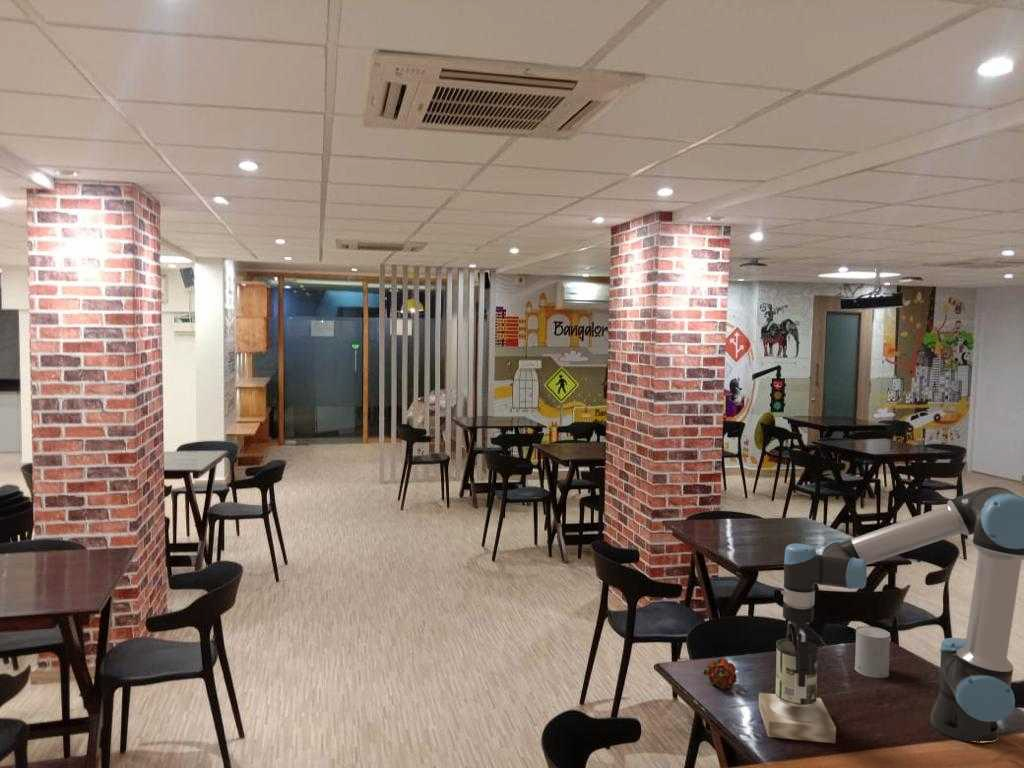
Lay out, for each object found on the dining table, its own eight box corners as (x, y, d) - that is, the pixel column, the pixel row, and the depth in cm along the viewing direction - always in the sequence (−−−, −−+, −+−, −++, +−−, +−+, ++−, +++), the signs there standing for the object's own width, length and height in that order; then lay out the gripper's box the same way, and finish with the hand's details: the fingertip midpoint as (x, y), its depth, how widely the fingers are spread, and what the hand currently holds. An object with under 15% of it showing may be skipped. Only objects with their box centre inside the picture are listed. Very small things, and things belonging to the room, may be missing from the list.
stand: (820, 712, 199) (820, 697, 199) (835, 743, 184) (835, 726, 183) (758, 707, 202) (759, 692, 202) (768, 736, 186) (768, 720, 186)
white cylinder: (850, 663, 231) (851, 625, 231) (882, 665, 230) (883, 627, 230) (860, 676, 222) (861, 636, 221) (894, 679, 221) (895, 638, 220)
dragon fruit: (726, 701, 209) (711, 688, 221) (749, 682, 210) (733, 670, 222) (708, 676, 209) (694, 665, 221) (731, 657, 210) (716, 647, 222)
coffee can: (812, 691, 197) (814, 639, 196) (820, 709, 187) (822, 655, 186) (771, 687, 199) (773, 636, 198) (777, 705, 189) (779, 651, 188)
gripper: (775, 589, 203) (773, 668, 204) (792, 618, 181) (789, 707, 182) (804, 591, 202) (801, 671, 203) (824, 620, 180) (821, 710, 181)
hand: (795, 688), depth 192 cm, fingers closed on coffee can, 10 cm apart
